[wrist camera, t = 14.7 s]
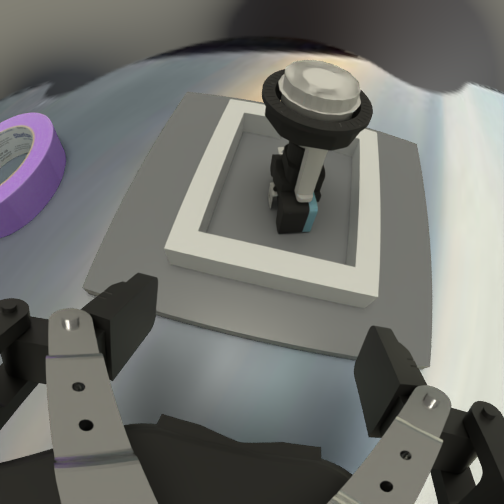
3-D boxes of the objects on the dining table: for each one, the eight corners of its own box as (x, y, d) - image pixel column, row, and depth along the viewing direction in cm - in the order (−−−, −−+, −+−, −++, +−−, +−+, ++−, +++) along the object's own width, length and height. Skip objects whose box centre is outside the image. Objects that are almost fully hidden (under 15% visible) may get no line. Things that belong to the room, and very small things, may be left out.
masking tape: (71, 125, 27) (59, 96, 23) (64, 217, 22) (44, 186, 18) (-18, 162, 24) (-34, 139, 21) (-39, 255, 19) (-63, 233, 16)
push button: (245, 162, 23) (255, 39, 14) (315, 161, 24) (348, 47, 15) (255, 240, 20) (273, 110, 11) (336, 236, 21) (396, 118, 12)
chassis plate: (88, 293, 19) (69, 274, 16) (187, 100, 28) (185, 74, 25) (421, 369, 18) (447, 360, 15) (412, 151, 27) (425, 129, 24)
